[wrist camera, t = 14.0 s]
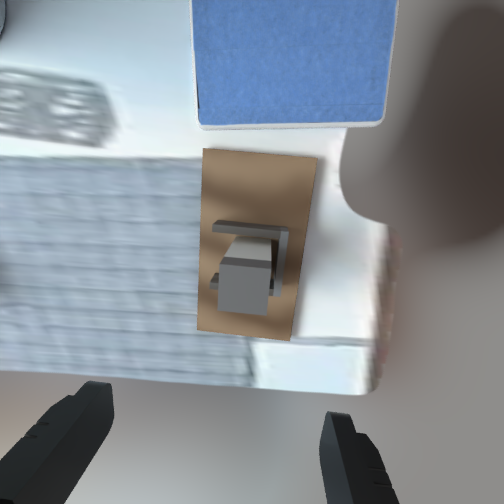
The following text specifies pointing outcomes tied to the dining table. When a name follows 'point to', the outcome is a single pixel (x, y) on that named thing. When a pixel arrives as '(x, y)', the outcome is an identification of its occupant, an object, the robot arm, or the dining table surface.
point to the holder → (253, 232)
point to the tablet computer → (291, 62)
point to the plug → (245, 276)
